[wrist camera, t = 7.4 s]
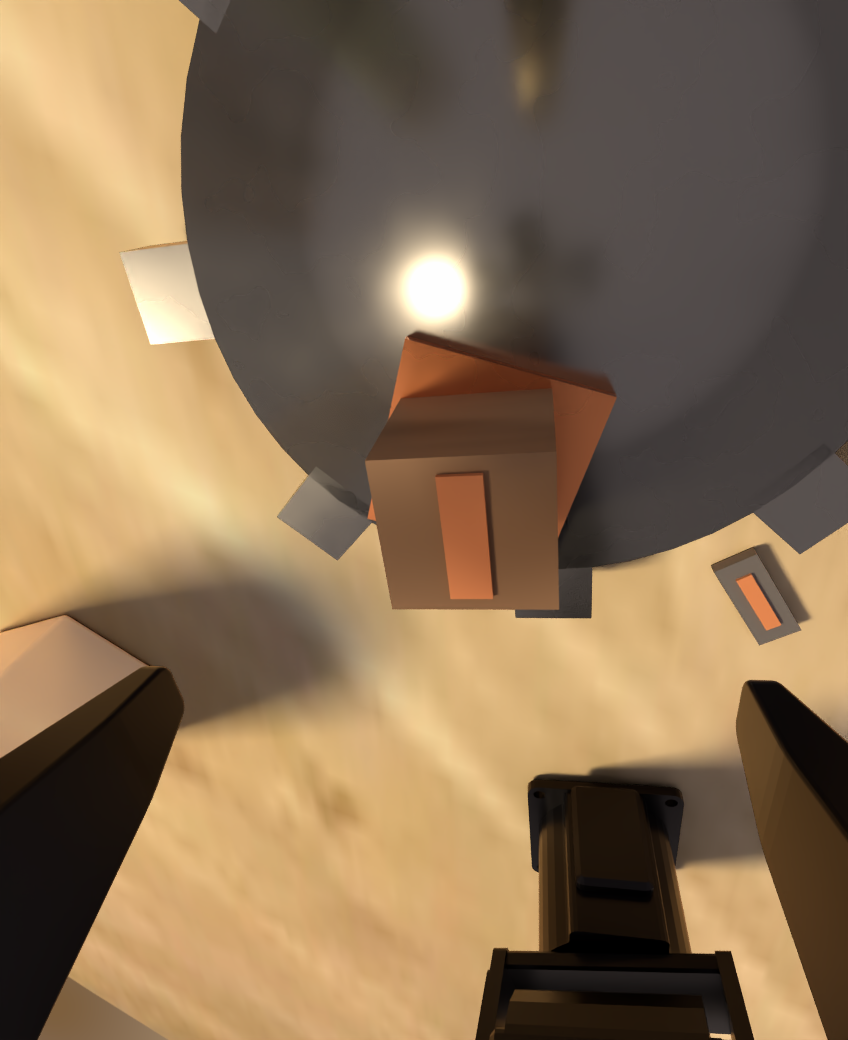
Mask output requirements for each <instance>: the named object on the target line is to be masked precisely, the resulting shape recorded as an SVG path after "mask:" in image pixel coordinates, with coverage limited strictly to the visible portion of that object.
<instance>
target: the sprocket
mask: <svg viewBox="0 0 848 1040" xmlns="http://www.w3.org/2000/svg"><path fill="white" fill-rule="evenodd" d="M179 1H180V2H181V3H182V4H184V5H185V6H186V7H187V8H188V9H189V10H190V11H191V12H193V13H194V14H195V15H196V16H197V17H198V18H199V19H200V20H199V25H198V29H197V34H196V39H195V43H194V48H193V52H192V57H191V62H190V66H189V71H188V76H187V82H186V92H185V102H184V112H183V122H182V132H181V189H182V201H183V209H184V217H185V226H186V234H187V241H183V242H175V243H168V244H160V245H152V246H147V247H142V248H138V249H133V250H128V251H124V252H119V253H120V256H121V259H122V262H123V265H124V268H125V271H126V273H127V276H128V279H129V282H130V285H131V288H132V291H133V294H134V297H135V300H136V303H137V306H138V309H139V312H140V315H141V318H142V320H143V323H144V326H145V329H146V332H147V335H148V338H149V341H150V344H151V345H153V344H163V343H174V342H185V341H195V340H206V339H215V340H216V342H217V344H218V346H219V348H220V350H221V352H222V355H223V357H224V359H225V361H226V363H227V365H228V367H229V369H230V371H231V373H232V376H233V378H234V379H235V381H236V383H237V384H238V386H239V388H240V389H241V391H242V392H243V394H244V396H245V397H246V399H247V401H248V402H249V404H250V405H251V407H252V409H253V410H254V412H255V414H256V415H257V416H258V418H259V419H260V420H261V422H262V423H263V424H264V425H265V427H266V428H267V429H268V431H269V432H270V433H271V434H272V436H273V437H274V438H275V440H276V441H277V442H278V444H279V445H280V446H281V447H282V448H283V449H284V450H285V452H286V453H287V454H288V455H289V456H290V457H291V458H292V459H293V460H294V461H295V462H296V463H297V464H298V465H299V466H300V467H301V468H302V469H303V470H304V471H305V472H306V473H307V474H308V476H307V477H306V479H305V480H304V481H303V482H302V484H301V485H300V486H299V488H298V489H297V490H296V492H295V493H294V494H293V495H292V497H291V498H290V500H289V501H288V502H287V504H286V505H285V506H284V508H283V509H282V510H281V512H280V513H279V515H278V516H277V517H278V518H279V519H280V520H282V521H283V522H285V523H286V524H287V525H289V526H290V527H292V528H293V529H294V530H296V531H297V532H299V533H300V534H301V535H303V536H304V537H306V538H307V539H308V540H310V541H311V542H313V543H314V544H315V545H317V546H318V547H320V548H321V549H322V550H324V551H325V552H327V553H328V554H329V555H331V556H332V557H333V558H335V559H336V560H338V559H339V558H340V557H341V556H342V555H343V554H344V553H345V552H346V550H347V549H348V548H349V547H350V546H351V545H352V544H353V543H354V542H355V540H356V539H357V538H358V537H359V536H360V535H361V534H362V533H363V532H364V531H365V529H366V528H367V527H368V526H369V525H370V524H371V523H374V524H376V518H375V513H374V508H373V502H372V497H371V492H370V486H369V481H368V475H367V470H366V465H365V459H366V458H367V456H368V454H369V453H370V451H371V449H372V447H373V446H374V444H375V442H376V440H377V439H378V437H379V435H380V433H381V432H382V430H383V428H384V427H385V425H386V423H387V421H388V420H389V418H390V416H391V414H392V413H393V411H394V409H395V407H396V406H397V404H398V402H399V401H400V399H401V398H415V397H430V396H445V395H459V394H474V393H489V392H503V391H518V390H532V389H547V388H552V392H553V407H554V422H555V437H556V455H557V514H558V573H559V610H515V616H516V618H591V610H592V567H595V566H601V565H607V564H613V563H619V562H625V561H631V560H635V559H638V558H642V557H646V556H649V555H653V554H657V553H660V552H664V551H667V550H671V549H674V548H676V547H679V546H682V545H684V544H687V543H689V542H692V541H694V540H697V539H699V538H702V537H705V536H707V535H710V534H712V533H714V532H716V531H718V530H720V529H722V528H724V527H726V526H728V525H730V524H732V523H734V522H736V521H738V520H740V519H742V518H744V517H745V516H747V515H749V514H751V513H754V514H755V515H756V516H757V517H759V518H760V519H761V520H762V521H763V522H764V523H765V524H766V525H768V526H769V527H770V528H771V529H772V530H773V531H774V532H775V533H776V534H778V535H779V536H780V537H781V538H782V539H783V540H784V541H785V542H787V543H788V544H789V545H790V546H791V547H792V548H793V549H794V550H796V551H797V552H798V553H799V554H801V553H803V552H804V551H806V550H807V549H809V548H810V547H812V546H813V545H815V544H816V543H818V542H819V541H821V540H823V539H824V538H826V537H827V536H829V535H830V534H832V533H833V532H835V531H836V530H838V529H839V528H841V527H842V526H844V525H845V524H847V523H848V465H847V464H846V463H845V462H844V461H843V460H842V459H841V458H840V457H839V456H837V455H836V454H835V452H836V451H837V450H838V449H839V448H840V447H841V446H842V445H843V444H844V443H845V442H846V441H847V440H848V0H179ZM376 525H377V524H376Z"/></svg>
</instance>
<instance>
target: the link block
mask: <svg viewBox="0 0 848 1040" xmlns="http://www.w3.org/2000/svg"><path fill="white" fill-rule="evenodd" d="M365 465H366V470H367V475H368V481H369V486H370V492H371V497H372V502H373V508H374V513H375V518H376V524H377V529H378V534H379V540H380V545H381V550H382V556H383V561H384V566H385V572H386V577H387V583H388V588H389V593H390V599H391V604H392V609H512V610H559V573H558V514H557V455H556V437H555V422H554V407H553V392H552V388H547V389H532V390H518V391H503V392H489V393H474V394H459V395H445V396H430V397H415V398H401V399H400V401H399V402H398V404H397V406H396V407H395V409H394V411H393V413H392V414H391V416H390V418H389V420H388V421H387V423H386V425H385V427H384V428H383V430H382V432H381V433H380V435H379V437H378V439H377V440H376V442H375V444H374V446H373V447H372V449H371V451H370V453H369V454H368V456H367V458H366V459H365Z"/></svg>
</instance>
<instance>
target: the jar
mask: <svg viewBox="0 0 848 1040" xmlns="http://www.w3.org/2000/svg"><path fill="white" fill-rule="evenodd" d="M144 666H148V665H146V664H145V663H143V662H141V661H140V660H138V659H136V658H135V657H133V656H132V655H130V654H128V653H127V652H125V651H124V650H122V649H120V648H119V647H117V646H116V645H114V644H112V643H111V642H109V641H107V640H106V639H104V638H103V637H101V636H99V635H98V634H96V633H95V632H93V631H91V630H90V629H88V628H87V627H85V626H83V625H82V624H80V623H79V622H77V621H75V620H74V619H72V618H71V617H69V616H66V615H63V616H59V617H55V618H52V619H48V620H44V621H41V622H37V623H33V624H30V625H26V626H23V627H19V628H15V629H12V630H8V631H4V632H1V633H0V758H1V757H3V756H4V755H6V754H7V753H9V752H11V751H12V750H14V749H15V748H17V747H18V746H20V745H21V744H23V743H24V742H26V741H28V740H29V739H31V738H32V737H34V736H35V735H37V734H38V733H40V732H41V731H43V730H45V729H46V728H48V727H49V726H51V725H52V724H54V723H55V722H57V721H59V720H60V719H62V718H63V717H65V716H66V715H68V714H69V713H71V712H72V711H74V710H76V709H77V708H79V707H80V706H82V705H83V704H85V703H86V702H88V701H89V700H91V699H93V698H94V697H96V696H97V695H99V694H100V693H102V692H103V691H105V690H106V689H108V688H110V687H111V686H113V685H114V684H116V683H117V682H119V681H120V680H122V679H124V678H125V677H127V676H128V675H130V674H131V673H133V672H134V671H136V670H137V669H139V668H141V667H144Z"/></svg>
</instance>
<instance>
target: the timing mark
mask: <svg viewBox="0 0 848 1040" xmlns="http://www.w3.org/2000/svg"><path fill="white" fill-rule="evenodd" d="M711 567H712V569H713V571H714V573H715V575H716V576H717V578H718V580H719V581H720V583H721V584H722V586H723V588H724V589H725V591H726V593H727V594H728V596H729V597H730V599H731V601H732V602H733V604H734V605H735V607H736V609H737V610H738V612H739V613H740V615H741V617H742V618H743V620H744V621H745V623H746V625H747V626H748V628H749V629H750V631H751V633H752V634H753V636H754V638H755V639H756V641H757V642H758V644H759V645H762V644H764V643H767V642H770V641H773V640H775V639H778V638H781V637H784V636H786V635H789V634H792V633H795V632H798V631H800V630H801V629H800V627H799V625H798V623H797V622H796V620H795V618H794V616H793V615H792V613H791V611H790V610H789V608H788V606H787V604H786V603H785V601H784V599H783V598H782V596H781V594H780V592H779V591H778V589H777V587H776V585H775V584H774V582H773V580H772V579H771V577H770V575H769V573H768V572H767V570H766V568H765V567H764V565H763V563H762V561H761V560H760V558H759V556H758V554H757V553H756V551H755V549H754V548H751V549H748V550H746V551H744V552H741V553H739V554H737V555H734V556H732V557H730V558H727V559H725V560H723V561H720V562H718V563H716V564H713V565H711Z"/></svg>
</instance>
